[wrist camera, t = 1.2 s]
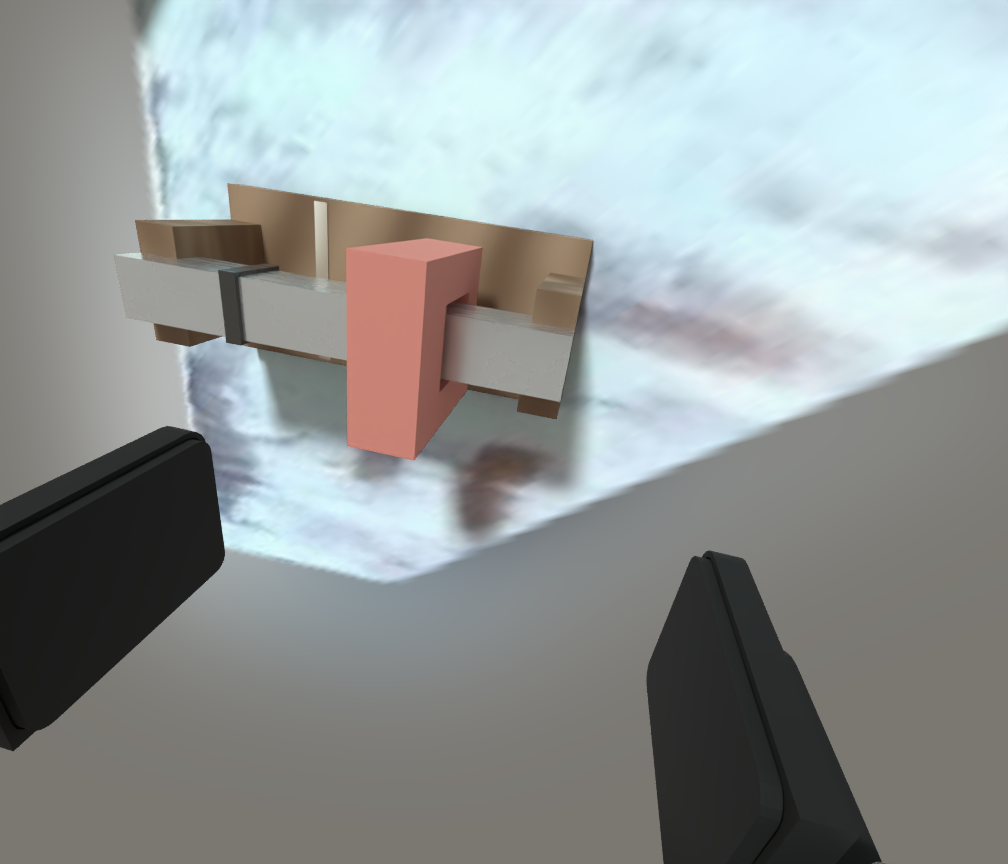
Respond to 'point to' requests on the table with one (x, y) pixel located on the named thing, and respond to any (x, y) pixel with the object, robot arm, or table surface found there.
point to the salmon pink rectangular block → (402, 340)
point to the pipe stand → (341, 224)
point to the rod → (334, 320)
